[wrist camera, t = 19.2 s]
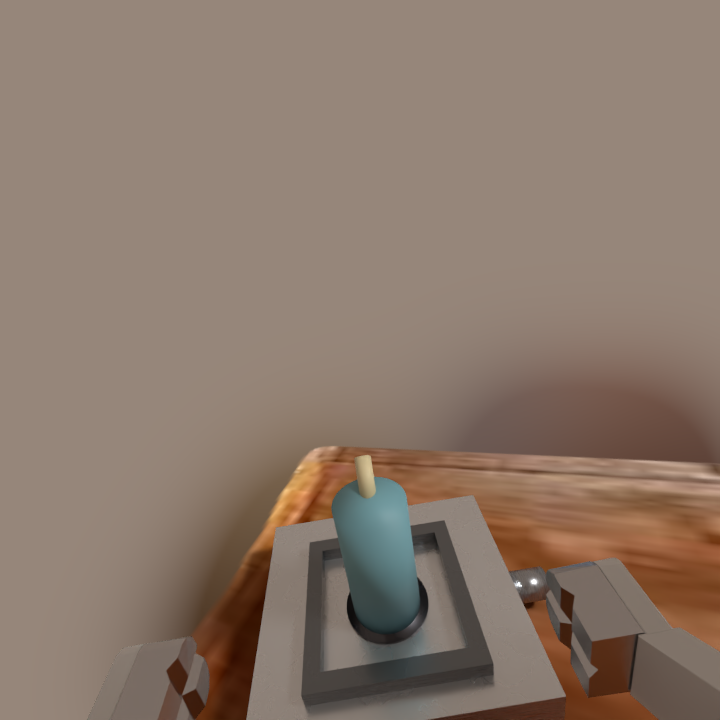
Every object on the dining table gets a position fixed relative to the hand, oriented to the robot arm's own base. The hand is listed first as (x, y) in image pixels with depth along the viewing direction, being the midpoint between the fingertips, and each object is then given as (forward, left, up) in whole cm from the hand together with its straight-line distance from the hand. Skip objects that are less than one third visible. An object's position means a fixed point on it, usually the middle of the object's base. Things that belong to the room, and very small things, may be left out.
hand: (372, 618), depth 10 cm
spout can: (0, -16, -21) cm, 27 cm away
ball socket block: (-1, -17, -25) cm, 31 cm away
